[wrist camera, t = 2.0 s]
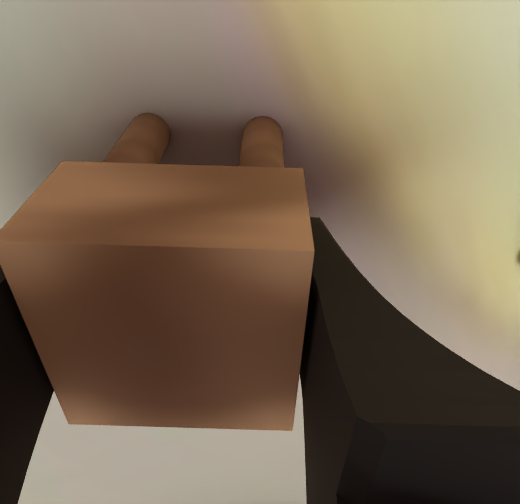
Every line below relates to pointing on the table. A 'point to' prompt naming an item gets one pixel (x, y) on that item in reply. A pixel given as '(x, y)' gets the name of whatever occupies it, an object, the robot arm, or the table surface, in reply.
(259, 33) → the table surface
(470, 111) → the table surface
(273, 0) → the table surface
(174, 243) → the tan box with knobs
